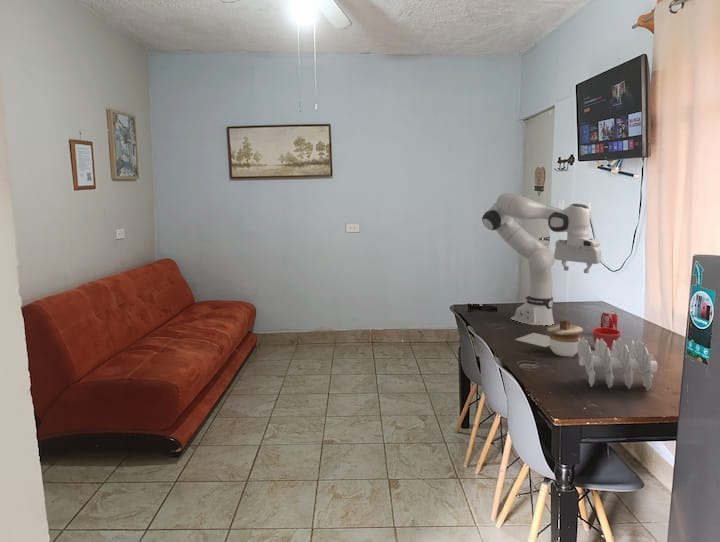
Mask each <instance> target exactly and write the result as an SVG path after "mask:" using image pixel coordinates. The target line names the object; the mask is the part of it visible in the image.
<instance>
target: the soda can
mask: <svg viewBox="0 0 720 542" xmlns="http://www.w3.org/2000/svg"><path fill="white" fill-rule="evenodd" d="M600 328H612V329H616V330H618V314H617V312H616V311H614V310H603V311H602V314H601V315H600Z"/></svg>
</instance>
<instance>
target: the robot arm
mask: <svg viewBox="0 0 720 542" xmlns="http://www.w3.org/2000/svg"><path fill="white" fill-rule="evenodd" d="M514 219H517V220H524V221H525V220H537V219H538V220H547V225H548V227H549V229H550V231H552V232H555V233H567V234H566V235H567V236H566V237H567V238H566V239H558V240H556V242H555V243H554V244H555V249H554V252H553V251H552V250H551V249H549V248H548V247H547V246H546V245H544V244H543V243H541V242H540V240H539V241H538V240H537V239H536V238H535V237H534V236H532V235H531V234H530V233H529V232H528V231H527V230H525V228H523V226H521V225H520V224H519V223H517V222H516V221H515V220H514ZM481 220H482V221H481V222H482V223H483V225H484V227H485V228H486V229H488V230H491V231H496V232H497V234H498V235H499V237H501V238H502V240H503V241H505V243H506V244H508V246H509V247H511V248H512V249H513V250H514V251H515V252H516V253H518V254H519V255H521V256H523V258H526V260H528V262H527V263H528V273H529V295H528V296H526V297H525V298H524V299H525V300H526V302H525V303H523V304H521V305H520V306H518V307H517V308H516V311H515V314H514V316H511V317H510V320H511V319H512V320H515V321H518V322H517V323H519V322H521V323H520V324H528V325H534V326H539V325H543V327H544V326H545V325H548V326H551V325H552V324H553V325H555V321H554V320H555V319H554V316H553V306H554V305H553V303H554V300H553V299H554V297H553V274H552V266H553V265H554V263H555V260H557V261H561V265H562V267H563V271H567V272H568V271H569V267H570V266H568V264H567V262H573V263H582V264H583V263H584V264H586V268H583V274H589V273H590V269H591V267H592V266H593V265H597V264H600V263H601V262H602V250H601V247H600V246H601V241H599V240H598V239H595V238H593V237H590V232H589V227H590V225H591V224H590V223H591V212H590V208H589V206H587V205H586V204H582V203H572V204H569V205H568V206H567V207H565V208H564V209H561V208H557V207H553V206H549V205H546V204H544V203H541V202H539V201H535V200H533V199H531V198H528V197H525V196H523V195H519V194H516V193H506V192H504V193H502V194H500V195H499V196H497V199H496V202H494V203H493V205H492V206H491V207H490V208H489V209H488V210H487V211H485V212H484V214H483V216H482V217H481ZM512 320H511V321H512ZM515 321H514V322H515ZM545 327H546V326H545Z"/></svg>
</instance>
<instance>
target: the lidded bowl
mask: <svg viewBox="0 0 720 542" xmlns="http://www.w3.org/2000/svg"><path fill="white" fill-rule="evenodd" d="M548 336H549V337H550V338H549V342H550V346H549V347H550V349H551V351H552V353H553V354H555V355H557V356H559V357H568V359H572V358H574V356H575V355H577V354H578V350H577V343H578V339H579V338H580V340H581V339H582V336H581V334H577V335H560V334H554V333H551V332H549V334H548ZM571 357H572V358H571Z"/></svg>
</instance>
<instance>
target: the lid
mask: <svg viewBox="0 0 720 542" xmlns="http://www.w3.org/2000/svg"><path fill="white" fill-rule="evenodd" d="M546 327H547V332H549V333H554V334H560V335H577V334H579V335H581V334H582V333H583V331H584V329H583V328H582V327H580V326H578V325H573V324H571V320H569V319H566V318H563V319H560V320H559V324H553V325H548V326H546Z"/></svg>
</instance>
